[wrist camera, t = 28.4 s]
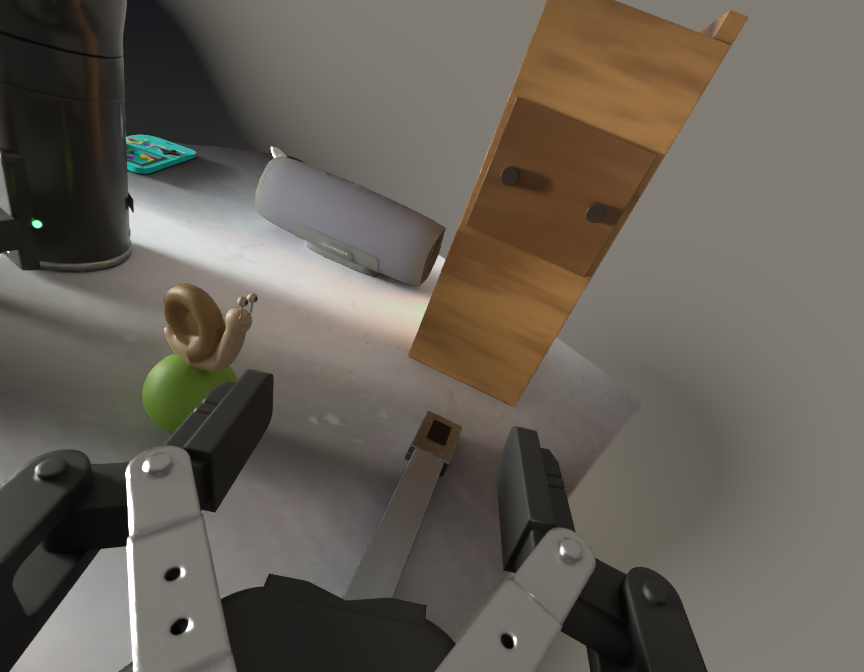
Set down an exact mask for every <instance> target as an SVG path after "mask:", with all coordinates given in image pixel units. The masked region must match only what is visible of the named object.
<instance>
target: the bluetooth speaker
mask: <svg viewBox="0 0 864 672" xmlns="http://www.w3.org/2000/svg"><path fill="white" fill-rule="evenodd" d="M255 205H256V209H257V211H258V213H259V214H260V215H261V216H262V217H264V218H265V219H267V220H268V221H270V222H272V223H274V224H275V225H277V226H279V227H281V228H283V229H285V230H287V231H289V232H291V233H293V234H295V235H296V236H298V237H300V238H302V239H304V240H306V241H307V247H308V248H310V249H311V250H313V251H315V252H317V253H319V254H321V255H323V256H325V257H327V258H329V259H331V260H334V261H336V262H338V263H340V264H342V265H345V266H347V267H349V268H351V269H354V270H356V271H359V272H361V273H364V274H367V275H370V276H376V275H378V274H379V273H380V274H382V275H385V276H389V277H391V278H394V279H396V280H399V281H402V282H405V283H407V284H411V285H414V286H417V287H420V286H421V285H422V283H423V282H424V281H425V280H426V279H427V278H428V276H429V274H430V272H431V270H432V268H433V266H434V264H435V261H436V259H437V257H438V254H439V251H440V248H441V243H442V239H443V236H444V232H445V230H446V228H445V227H443V226H442V225H440V224H439V223H437V222H435V221H434V220H431V219H430V218H428V217H426V216H424V215H422V214H420V213H418V212H416V211H414V210H412V209H410V208H408V207H406V206H404V205H401V204H399V203H397V202H395V201H393V200H391V199H389V198H387V197H385V196H382V195H380V194H378V193H376V192H373V191H371V190H369V189H367V188H365V187H363V186H360V185H358V184H355V183H353V182H350V181H348V180H345V179H343V178H341V177H338V176H336V175H333V174H331V173H328V172H326V171H323V170H320V169H318V168H315V167H313V166H310V165H308V164H305V163H302V162H299V161H296V160H293V159H290V158H286V157H282V156H279V157H275V158H274V159H272V160H271V161H270V162H269V163H268V164H267V166H266V168H265V170H264V172H263V174H262V176H261V178H260V181H259V184H258V187H257V190H256V193H255Z"/></svg>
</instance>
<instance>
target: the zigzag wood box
mask: <svg viewBox="0 0 864 672" xmlns="http://www.w3.org/2000/svg"><path fill="white" fill-rule="evenodd" d="M747 19H748V16H745V15H742V14H740V13H737V12H734V11H732V10H730V11H728V12H727V13H726V14H724V15H723V16H721V17H720V18H719V19H717V20H716V21H714V22H713V23H712V24H710V25H709V26H708V27H706V28H705V29H703V30H702V31H701V32H696V31H693V30H691V29H688V28H686V27H683V26H680V25H678V24H675V23H673V22H670V21H667V20H665V19H662V18H659V17H657V16H654V15H652V14H649V13H646V12H644V11H641V10H639V9H636V8H633V7H631V6H628V5H626V4H623V3H620V2H618V1H615V0H547V1H546V4H545V6H544V9H543V11H542V13H541V16H540V19H539V21H538V24H537V27H536V29H535V32H534V34H533V37H532V39H531V42H530V45H529V47H528V49H527V52H526V55H525V58H524V60H523V62H522V65H521V68H520V70H519V73H518V75H517V78H516V81H515V83H514V85H513V88H512V91H511V93H510V96H509V98H508V101H507V103H506V106H505V109H504V111H503V114H502V116H501V119H500V121H499V124H498V127H497V129H496V132H495V134H494V137H493V140H492V142H491V145H490V147H489V150H488V152H487V155H486V158H485V160H484V163H483V165H482V168H481V170H480V173H479V175H478V178H477V180H476V183H475V186H474V188H473V191H472V193H471V196H470V198H469V201H468V204H467V206H466V209H465V212H464V214H463V216H462V219H461V222H460V224H459V227H458V229H457V232H456V234H455V237H454V240H453V242H452V245H451V247H450V250H449V252H448V255H447V258H446V260H445V263H444V265H443V268H442V270H441V273H440V276H439V278H438V281H437V283H436V286H435V288H434V291H433V294H432V296H431V299H430V301H429V304H428V306H427V309H426V311H425V314H424V317H423V319H422V322H421V324H420V327H419V329H418V332H417V335H416V337H415V340H414V342H413V345H412V347H411V350H410V353H409V356H410V357H412V358H414V359H416V360H418V361H420V362H422V363H425V364H427V365H429V366H431V367H433V368H435V369H437V370H439V371H441V372H443V373H445V374H447V375H449V376H452V377H454V378H456V379H458V380H460V381H462V382H464V383H466V384H468V385H470V386H472V387H474V388H477V389H479V390H481V391H483V392H485V393H487V394H489V395H491V396H493V397H495V398H497V399H499V400H502V401H504V402H506V403H508V404H510V405H512V406H515V404H516V403H517V401H518V399H519V398H520V396H521V394H522V393H523V391H524V389H525V388H526V386H527V384H528V383H529V381H530V379H531V378H532V376H533V375H534V373H535V371H536V370H537V368H538V366H539V365H540V363H541V361H542V360H543V358H544V356H545V355H546V353H547V351H548V350H549V348H550V346H551V345H552V343H553V341H554V340H555V338H556V336H557V335H558V333H559V331H560V330H561V328H562V326H563V325H564V323H565V321H566V320H567V318H568V316H569V315H570V313H571V311H572V310H573V308H574V306H575V305H576V303H577V301H578V300H579V298H580V296H581V294H582V293H583V291H584V290H585V288H586V286H587V285H588V283H589V281H590V280H591V278H592V276H593V275H594V273H595V271H596V270H597V268H598V266H599V265H600V263H601V261H602V260H603V258H604V256H605V255H606V253H607V251H608V250H609V248H610V246H611V245H612V243H613V242H614V240H615V238H616V237H617V235H618V233H619V231H620V230H621V228H622V226H623V225H624V223H625V221H626V220H627V218H628V216H629V215H630V213H631V212H632V210H633V208H634V206H635V205H636V203H637V202H638V200H639V198H640V197H641V195H642V193H643V192H644V190H645V188H646V187H647V185H648V183H649V181H650V180H651V178H652V177H653V175H654V173H655V171H656V170H657V168H658V166H659V165H660V163H661V162H662V160H663V158H664V157H665V155H666V153H667V152H668V150H669V148H670V147H671V145H672V143H673V142H674V140H675V138H676V137H677V135H678V133H679V132H680V130H681V128H682V127H683V125H684V123H685V122H686V120H687V118H688V117H689V115H690V113H691V112H692V110H693V109H694V107H695V105H696V104H697V102H698V100H699V99H700V97H701V95H702V93H703V92H704V90H705V89H706V86H707V85H708V84H709V82H710V80H711V79H712V77H713V75H714V74H715V72H716V70H717V69H718V67H719V65H720V63H721V62H722V60H723V59H724V57H725V55H726V54H727V52H728V50H729V49H730V47H731V45H732V44H733V42H734V41H735V39H736V37H737V35H738V34H739V32H740V31H741V29H742V27H743V26H744V24H745V22H746V21H747Z"/></svg>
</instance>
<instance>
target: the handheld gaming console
mask: <svg viewBox="0 0 864 672" xmlns="http://www.w3.org/2000/svg"><path fill="white" fill-rule="evenodd" d="M126 150H127V170H130V171H133V172H136V173H141V174H148V173H151V172H154V171H157V170H160V169H163V168H166V167H169V166H172V165H175V164H178V163H181V162H184V161H186V160H189V159H192V158H195V156H196V152H195V151H194V150H192V149H189V148H186V147H183V146H180V145H177V144H175V143H172V142H169V141H166V140H163V139H160V138H157V137H153V136H148V135H133V136H129V137H126Z"/></svg>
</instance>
